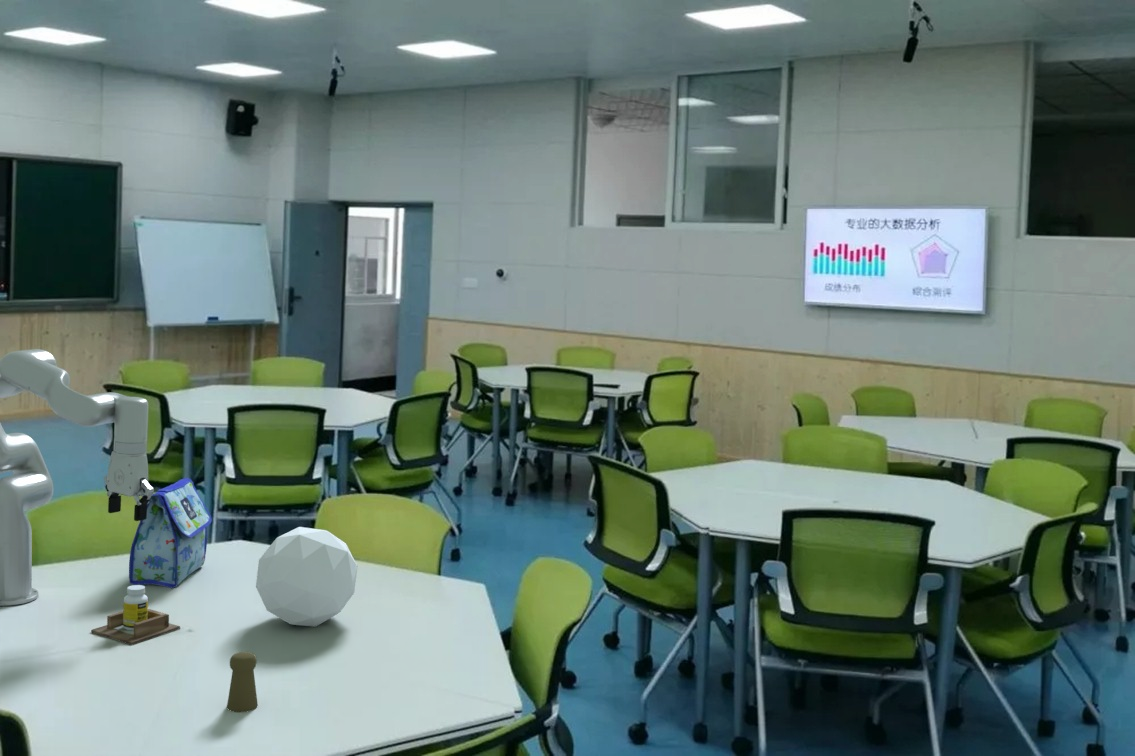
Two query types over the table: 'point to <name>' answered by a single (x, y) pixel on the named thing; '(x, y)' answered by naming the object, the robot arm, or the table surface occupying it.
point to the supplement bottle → (134, 606)
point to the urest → (136, 627)
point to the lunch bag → (170, 537)
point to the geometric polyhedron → (306, 576)
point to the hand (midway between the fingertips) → (127, 516)
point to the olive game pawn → (242, 683)
